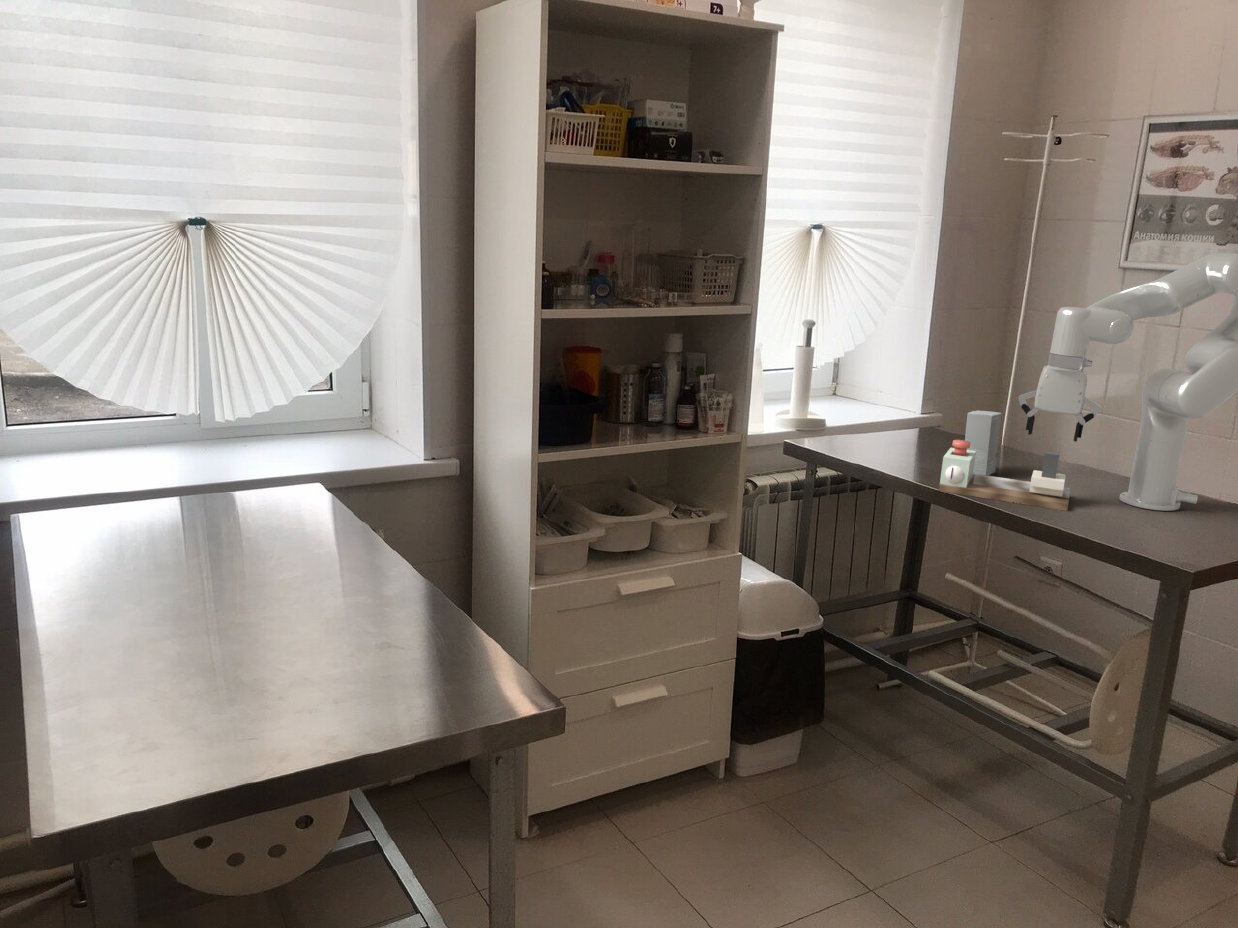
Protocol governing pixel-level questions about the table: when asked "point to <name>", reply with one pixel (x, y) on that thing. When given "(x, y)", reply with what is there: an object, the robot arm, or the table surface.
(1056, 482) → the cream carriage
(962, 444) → the red reset button
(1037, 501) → the walnut rail board
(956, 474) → the sage gauge cabinet
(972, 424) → the skincare box
